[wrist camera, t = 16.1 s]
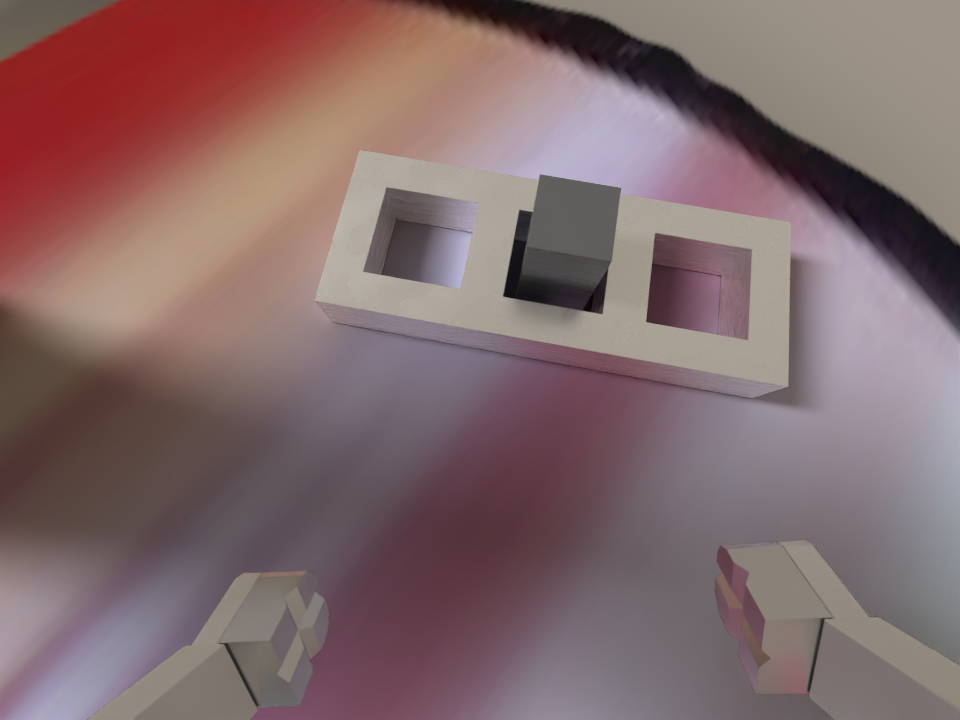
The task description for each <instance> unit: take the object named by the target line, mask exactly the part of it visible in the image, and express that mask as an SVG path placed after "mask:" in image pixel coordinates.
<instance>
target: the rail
mask: <svg viewBox="0 0 960 720" xmlns="http://www.w3.org/2000/svg"><path fill="white" fill-rule="evenodd" d="M538 182H539V180H535V179H529V178H523V177H517V176H511V175H505V174H499V173H493V172H487V171H481V170H475V169H469V168H463V167H457V166H452V165H446V164H440V163H434V162H428V161H422V160H416V159H410V158H404V157H398V156H392V155H386V154H380V153H374V152H368V151H362V150H360V151H359V154H358V157H357V161H356V164H355V167H354V171H353V174H352V177H351V181H350V184H349V187H348V191H347V194H346V197H345V201H344V204H343V207H342V211H341V214H340V217H339V221H338V224H337V227H336V231H335V234H334V237H333V241H332V244H331V247H330V251H329V254H328V257H327V261H326V264H325V267H324V270H323V274H322V277H321V280H320V284H319V287H318V290H317V294H316V297H315V300H314V301H315V302H316V303H317V304H318V305H319V307H320V308H321V309H322V310H323V311H324V312H325V314H326V315H327V316H328V317H329V318H330V319H331V321H332V322H335V323H340V324H346V325H351V326H357V327H362V328H368V329H373V330H379V331H384V332H390V333H395V334H400V335H406V336H411V337H417V338H422V339H428V340H433V341H439V342H444V343H450V344H455V345H461V346H466V347H472V348H477V349H483V350H488V351H493V352H499V353H504V354H510V355H515V356H521V357H526V358H532V359H537V360H543V361H548V362H554V363H559V364H565V365H570V366H576V367H581V368H586V369H592V370H597V371H603V372H608V373H614V374H619V375H625V376H630V377H636V378H641V379H647V380H652V381H658V382H663V383H669V384H674V385H679V386H685V387H690V388H696V389H701V390H707V391H712V392H718V393H723V394H729V395H734V396H740V397H745V398H755V397H758V396H761V395H764V394H767V393H770V392H773V391H776V390H779V389H782V388H785V387H788V376H789V312H790V249H791V222H785V221H779V220H773V219H767V218H761V217H755V216H749V215H743V214H737V213H732V212H726V211H720V210H714V209H708V208H702V207H696V206H690V205H684V204H678V203H672V202H666V201H660V200H654V199H648V198H642V197H636V196H630V195H624V194H620V200H619V208H618V216H617V224H616V232H615V240H614V248H613V256H612V262H611V264H610V265H609V267H608V268H607V270H606V272H605V273H604V275H603V277H602V278H601V280H600V282H599V283H598V285H597V287H596V288H595V290H594V294H593V301H592V309H591V312H586V311H580V310H575V309H569V308H564V307H558V306H552V305H547V304H541V303H536V302H530V301H524V300H519V299H513V298H507V297H504V293H505V288H506V282H507V277H508V272H509V266H510V261H511V256H512V250H513V245H514V240H518V241H524V242H526V240H527V235H528V230H529V225H530V221H531V216H532V211H533V206H534V201H535V197H536V192H537V187H538ZM396 219H397V220H403V221H408V222H414V223H420V224H426V225H432V226H437V227H443V228H449V229H455V230H460V231H466V232H472V233H473V234H472V238H471V243H470V247H469V252H468V257H467V261H466V266H465V271H464V275H463V280H462V285H461V289H457V288H451V287H446V286H440V285H434V284H429V283H423V282H418V281H412V280H406V279H401V278H395V277H390V276H384V275H381V274H382V270H383V267H384V263H385V259H386V255H387V251H388V248H389V244H390V240H391V236H392V233H393V229H394V225H395V221H396ZM652 264H657V265H663V266H668V267H674V268H680V269H686V270H691V271H697V272H703V273H709V274H714V275H720V276H721V290H720V307H719V325H718V335H715V334H710V333H704V332H698V331H693V330H687V329H682V328H676V327H670V326H665V325H659V324H653V323H648V322H646V317H647V308H648V298H649V288H650V278H651V268H652Z"/></svg>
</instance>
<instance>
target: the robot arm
mask: <svg viewBox="0 0 960 720" xmlns="http://www.w3.org/2000/svg"><path fill="white" fill-rule="evenodd" d="M717 562H718V564H719V566H720V568H721V570H722V573H721V574H720V575H719V576H718V577H717V578H716V584H715V593H716V599H717V605H718V609H719V612H720V615H721V618H722V621H723V623H724V625H725V628H726V630H727V632H728V633H729V634H730V635H732V636H733V637H734V638H735V639H737V640H738V641H739V653H738V656H739V659H740V661H741V663H742V665H743V667H744V669H745V672H746V674H747V676H748V678H749V680H750V682H751V685H752V687H753V689H754V691H755V693H756V694H809V697H810V698H811V699H812V700H813V701H814V702H815V703H816V704H817V705H818V706H819V707H821V708H822V709H823V710H824V711H825V712H826V713H827V714H828V715H829V716H830V717H831V718H832V719H834V720H960V665H958V664H956V663H955V662H953V661H951V660H950V659H948V658H946V657H945V656H943V655H941V654H940V653H938V652H936V651H935V650H933V649H931V648H930V647H928V646H926V645H925V644H923V643H921V642H920V641H918V640H916V639H915V638H913V637H911V636H910V635H908V634H906V633H905V632H903V631H901V630H899V629H898V628H896V627H894V626H893V625H891V624H889V623H888V622H886V621H884V620H883V619H881V618H879V617H869V616H868V615H867V614H866V613H865V611H864V610H863V609H862V607H861V606H860V605H859V604H858V602H857V601H856V600H855V599H854V597H853V596H852V595H851V593H850V592H849V591H848V590H847V588H846V587H845V586H844V585H843V583H842V582H841V581H840V579H839V578H838V577H837V576H836V574H835V573H834V572H833V571H832V569H831V568H830V567H829V565H828V564H827V563H826V562H825V560H824V559H823V558H822V556H821V555H820V554H819V553H818V551H817V550H816V549H815V548H814V546H813V545H812V544H811V543H809V542H808V541H806V540H799V541H784V542H776V543H774V542H768V543H754V544H739V545H725V546H720V548H719V550H718V554H717ZM318 584H319V582H318V580H317V578H316V575H315V573H314V572H313V571H280V572H262V573H242V574H241V575H240V576H238V577H237V578H236V579H235V580H234V581H233V583H232V584H231V586H230V587H229V589H228V590H227V592H226V593H225V595H224V597H223V598H222V600H221V601H220V603H219V604H218V606H217V607H216V609H215V610H214V612H213V613H212V615H211V616H210V618H209V619H208V621H207V622H206V624H205V625H204V627H203V628H202V630H201V631H200V633H199V634H198V636H197V637H196V639H195V641H194V642H193V644H192V645H188V646H183V647H182V648H181V649H179V650H178V651H177V652H175V653H174V654H173V655H171V656H170V657H169V658H168V659H166V660H165V661H164V662H162V663H161V664H160V665H158V666H157V667H156V668H154V669H153V670H152V671H150V672H149V673H148V674H146V675H145V676H144V677H143V678H141V679H140V680H139V681H137V682H136V683H135V684H133V685H132V686H131V687H129V688H128V689H127V690H125V691H124V692H123V693H122V694H120V695H119V696H118V697H116V698H115V699H114V700H112V701H111V702H110V703H108V704H107V705H106V706H104V707H103V708H102V709H101V710H99V711H98V712H97V713H95V714H94V715H93V716H91V717H90V718H89V719H87V720H250V719H251V718H252V717H253V716H254V714H255V713H256V712H257V711H258V709H257V708H260V707H277V706H294V705H300V703H301V700H302V698H303V695H304V693H305V690H306V688H307V685H308V682H309V680H310V677H311V675H312V672H313V668H312V664H311V660H310V659H311V658H312V657H313V656H314V655H315V654H316V653H317V652H318V651H319V650H320V649H321V648H322V646H323V643H324V641H325V638H326V635H327V629H328V622H329V614H328V606H327V604H326V601H325V598H323V597H322V596H321V595H319V594H318V593H317V592H315V591H316V589H317V586H318Z"/></svg>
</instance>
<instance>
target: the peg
mask: <svg viewBox="0 0 960 720" xmlns="http://www.w3.org/2000/svg"><path fill="white" fill-rule="evenodd" d="M620 192H621V188H618V187H612V186H606V185H600V184H594V183H588V182H582V181H576V180H570V179H564V178H558V177H552V176H546V175H540V177H539V182H538V187H537V192H536V197H535V201H534V206H533V211H532V216H531V221H530V225H529V230H528V235H527V240H526V245H525V250H524V255H523V260H522V266H521V271H520V277H519V282H518V288H517V294H516V299H519V300H524V301H530V302H536V303H541V304H547V305H552V306H558V307H564V308H569V309H575V310H580V311H582V310H583V308H584V307H585V305H586V303H587V302H588V300H589V298H590V297H591V295H592V293H593V292H594V290H595V288H596V287H597V285H598V283H599V282H600V280H601V278H602V277H603V275H604V273H605V272H606V270H607V268H608V267H609V265H610V264H611V262H612V256H613V248H614V240H615V232H616V224H617V216H618V208H619V200H620Z"/></svg>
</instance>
